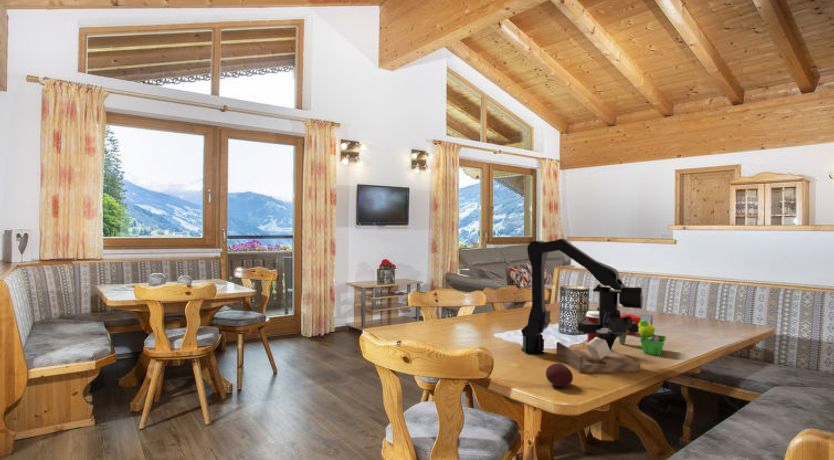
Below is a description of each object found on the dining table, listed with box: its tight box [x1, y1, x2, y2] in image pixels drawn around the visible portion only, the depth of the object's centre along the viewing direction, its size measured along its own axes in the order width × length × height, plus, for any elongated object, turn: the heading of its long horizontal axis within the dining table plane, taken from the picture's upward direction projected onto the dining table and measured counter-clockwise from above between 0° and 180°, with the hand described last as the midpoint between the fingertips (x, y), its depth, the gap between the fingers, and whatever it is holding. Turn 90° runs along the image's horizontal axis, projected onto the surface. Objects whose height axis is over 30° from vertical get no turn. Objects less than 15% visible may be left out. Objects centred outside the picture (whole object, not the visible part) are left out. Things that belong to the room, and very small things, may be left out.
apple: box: [620, 313, 642, 335], centre depth 205 cm, size 9×9×8 cm
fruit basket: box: [638, 319, 667, 356], centre depth 176 cm, size 11×9×11 cm
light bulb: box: [617, 329, 628, 345], centre depth 186 cm, size 6×6×10 cm
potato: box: [545, 362, 574, 388], centre depth 138 cm, size 8×9×6 cm
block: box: [585, 337, 611, 359], centre depth 158 cm, size 4×4×4 cm
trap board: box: [555, 341, 641, 374], centre depth 159 cm, size 20×18×5 cm
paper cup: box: [585, 310, 599, 343], centre depth 176 cm, size 8×8×14 cm
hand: (607, 353), depth 160 cm, fingers closed
